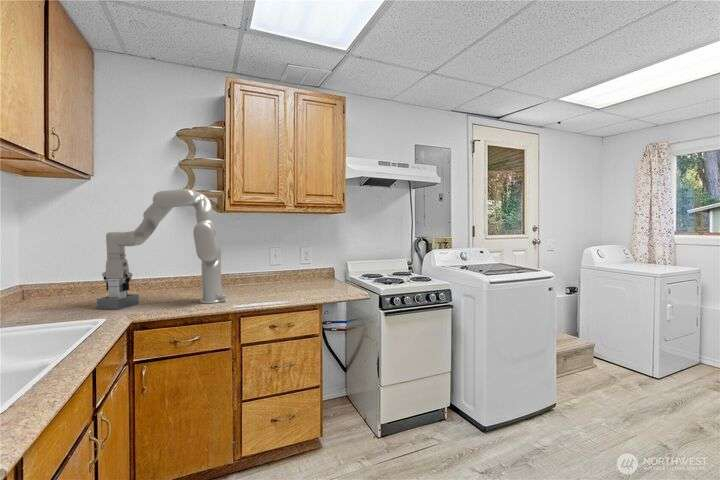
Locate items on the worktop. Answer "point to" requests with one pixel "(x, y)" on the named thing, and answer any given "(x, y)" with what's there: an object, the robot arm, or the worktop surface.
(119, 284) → the syrup box
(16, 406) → the worktop surface
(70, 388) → the worktop surface
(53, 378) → the worktop surface
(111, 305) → the grey square tray
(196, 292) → the worktop surface
